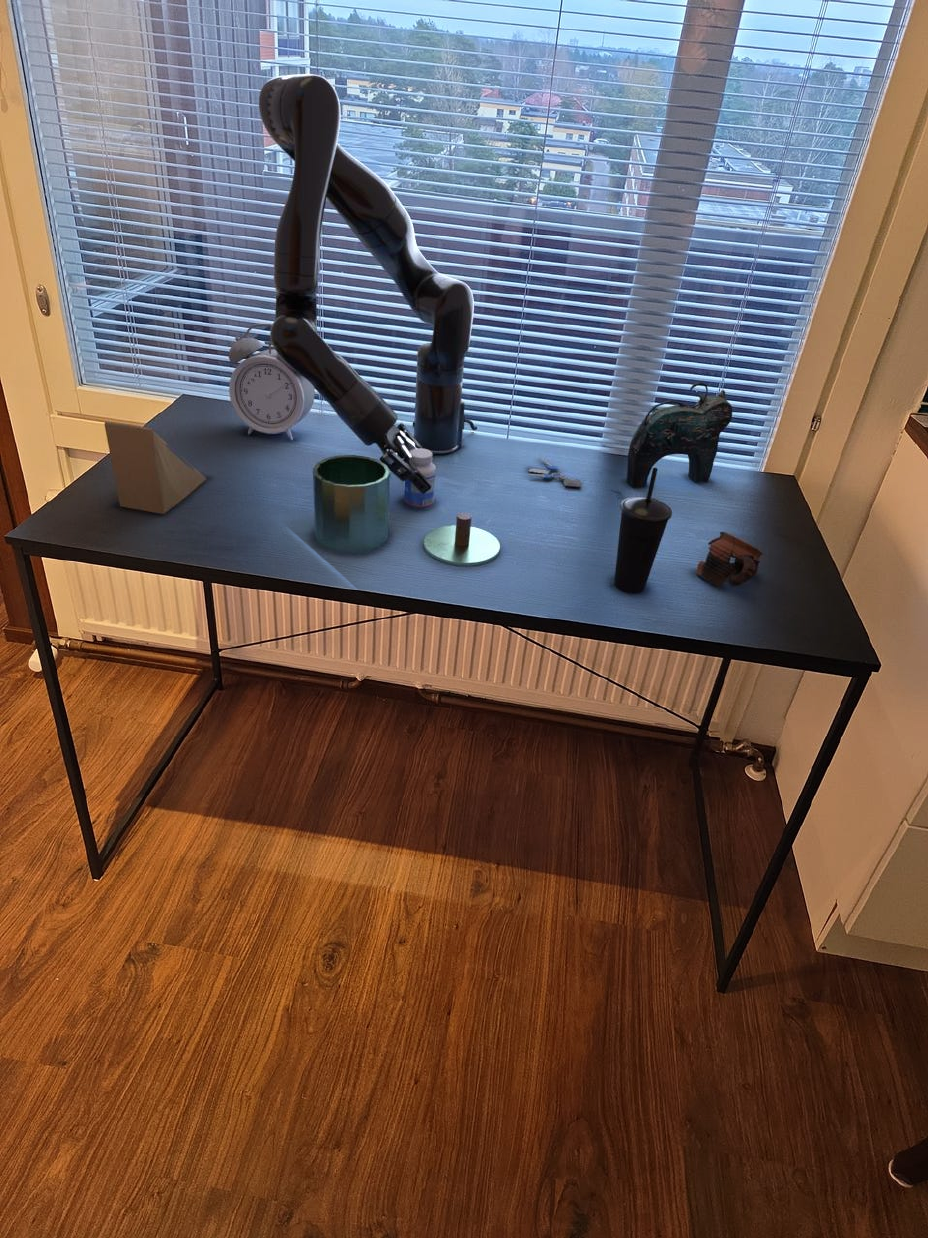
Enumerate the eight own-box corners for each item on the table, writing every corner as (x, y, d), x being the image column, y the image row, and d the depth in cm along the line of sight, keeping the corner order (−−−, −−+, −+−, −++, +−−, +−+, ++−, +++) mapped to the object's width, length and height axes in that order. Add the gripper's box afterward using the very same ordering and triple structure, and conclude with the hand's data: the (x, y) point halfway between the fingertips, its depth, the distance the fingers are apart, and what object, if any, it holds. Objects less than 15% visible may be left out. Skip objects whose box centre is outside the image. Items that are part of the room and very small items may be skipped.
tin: (363, 514, 143) (363, 449, 136) (400, 543, 136) (403, 476, 129) (302, 530, 137) (300, 463, 130) (338, 561, 129) (337, 492, 123)
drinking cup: (658, 581, 132) (686, 465, 121) (646, 603, 126) (675, 484, 115) (612, 568, 134) (636, 453, 123) (599, 589, 128) (622, 471, 117)
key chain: (587, 486, 160) (588, 482, 159) (554, 494, 155) (555, 490, 155) (542, 459, 169) (542, 456, 168) (510, 466, 165) (511, 462, 164)
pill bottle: (405, 495, 151) (407, 445, 145) (434, 497, 151) (437, 447, 145) (402, 508, 146) (404, 457, 141) (432, 511, 146) (435, 460, 141)
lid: (468, 525, 143) (471, 492, 140) (514, 556, 135) (519, 523, 132) (408, 542, 136) (409, 508, 133) (453, 576, 128) (456, 542, 125)
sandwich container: (208, 478, 150) (200, 398, 142) (165, 514, 138) (152, 429, 129) (165, 470, 152) (154, 391, 143) (118, 505, 139) (103, 421, 131)
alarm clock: (228, 434, 167) (218, 324, 155) (244, 420, 175) (236, 313, 162) (306, 445, 166) (302, 335, 154) (319, 430, 173) (317, 323, 161)
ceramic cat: (703, 471, 170) (728, 376, 159) (721, 485, 165) (747, 387, 154) (618, 478, 164) (638, 379, 153) (633, 492, 159) (655, 391, 148)
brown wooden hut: (681, 566, 137) (707, 522, 136) (724, 588, 141) (749, 546, 139) (718, 588, 126) (746, 540, 125) (763, 611, 130) (791, 565, 128)
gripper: (372, 412, 132) (441, 488, 139) (386, 383, 144) (449, 454, 151) (340, 440, 135) (409, 512, 142) (356, 410, 147) (419, 478, 154)
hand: (429, 482), depth 146 cm, fingers closed on pill bottle, 5 cm apart
